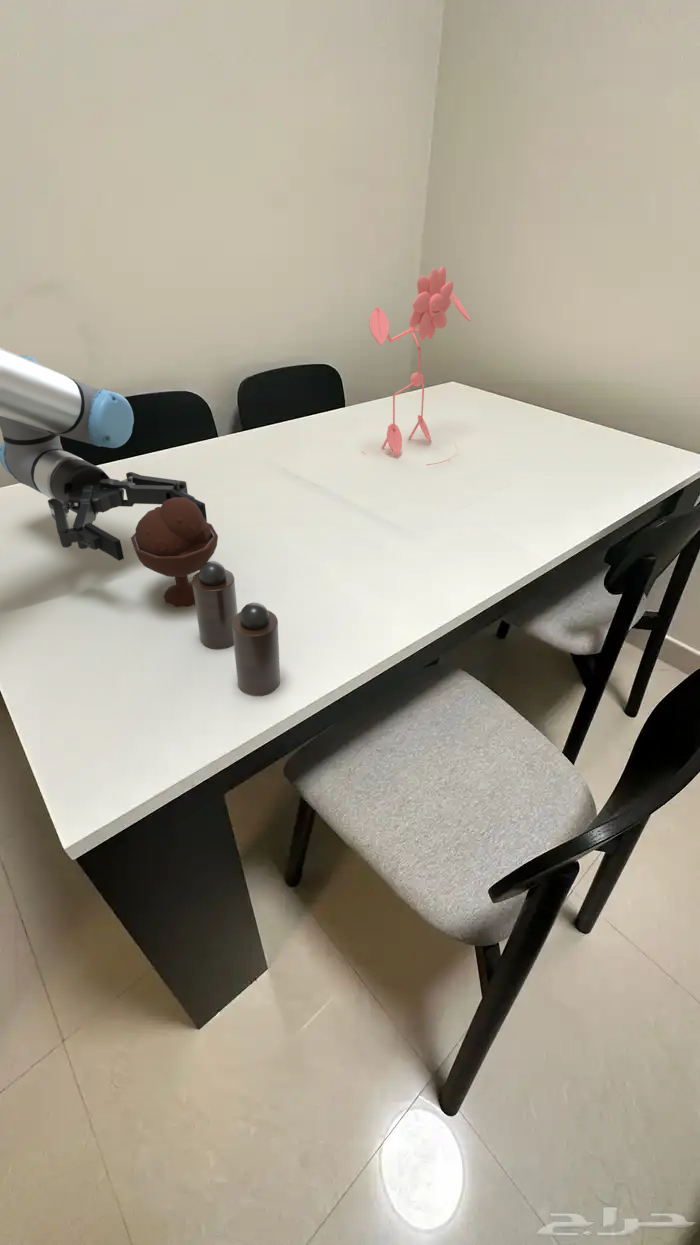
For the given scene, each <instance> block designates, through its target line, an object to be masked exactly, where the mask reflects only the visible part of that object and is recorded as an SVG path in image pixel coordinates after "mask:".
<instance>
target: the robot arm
mask: <svg viewBox="0 0 700 1245" xmlns="http://www.w3.org/2000/svg"><path fill="white" fill-rule="evenodd" d="M134 423H135V418H134V411H133V408H132V405H131V404H130V403H129V401H128V400H127V398H126V397H124V396H123V395H122V394H120V393H117V392H114V391H111V390H109V389H107V388H98V387H95V386H92V385H91V386H90V385H88V384H85V383H83V382H81V381H79V380H76V379H74V378H71V377H68V376H67V375H65V374H63V373H61V372H58V371H56V370H54V369H52V368H50V367H46V366H45V365H43V364H40V362H38V360H37V359H35V358H34V357H32V356H29V355H24V354H17V353H15V352H13V351H11V350H8V349H6V348H4V347H1V346H0V431H1V435H2V439H3V441H2V443H1V445H0V464H1V467H2V468H3V469H4V470H5V471H6V472H7V473H8V474H9V475H10V476H12V477H13V478H14V479H15V480H17V482H19V483H20V484H22V485H25V486H27V487H29V488H31V489H33V490H35V491H37V492H38V493H40V494H42V495H44V496H46V497H47V498H48V500H47V504H48V507H49V511H50V514H51V517H52V519H54V520H55V526H56V531H57V535H58V538H59V541H60V544H61V547H62V548H70V547H71V546H72V545H73V544H74V543H77V546H78V549H80V550H86V549H88V548H89V549H91V550H95V551H97V550H98V549H99V550H100V551H102V552H104V553H105V554H107V555H109V557H112V558H113V559H115V560H117V561H118V562H120V561H122V560H124V559H125V556H124V551H123V546H122V542H121V539H119V538H118V537H116V536H114V535H112V534H111V533H109V532H107V531H105V530H103V529H102V528H100V527H98V526H97V525H95V524H94V522H96V519H97V515H98V514H99V513H102V514H103V513H105V512H107V511H109V510H111V509H115V508H118V507H128V508H129V507H130V508H131V507H133V506H134V505H162V504H163V503H164V502H165V501H166V500H168V499H172V498H174V497H186V498H188V499H189V500H191V501H192V502H194V503H196V504H197V506H198V507H199V509H200V511H201V512H202V515H203V517H204V518H205V520H206V521H207V522H208V518H207V509H206V503H205V502H202V501H200V500H199V499H196V498H195V496H193V495H191V494H189V493H188V484H187V481H185V480H179V479H171V478H163V477H156V476H151V475H150V476H148V475H142V474H139V473H136V472H132V471H128V472H126V473H125V476H126V478H125V479H123V480H119V479H116V478H115V479H114V478H110V476H109V475H108V474H107V473H106V472H105V471H104V469H102V468H101V467H99V466H97V465H95V464H92V463H91V462H89V461H87V460H84V459H83V458H81V457H79V456H77V455H75V454H73V453H71V452H68V451H67V450H64V449H63V448H62V445H61V442H60V438H59V437H63V438H67V439H70V440H75V441H78V442H82V443H86V444H89V445H93V446H96V447H99V448H100V447H103V448H110V449H116V448H120V447H122V446H123V445H125V444H126V443H127V442H128V441H129V439H130V438H131V435H132V433H133V428H134ZM125 495H126V499H125ZM70 511H71V512H73V513H75V514H76V515H75V519H74V522H73V525H72V527H71V528H69V521H68V517H69V515H68V514H69V513H70Z"/></svg>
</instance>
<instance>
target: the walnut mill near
mask: <svg viewBox="0 0 700 1245" xmlns="http://www.w3.org/2000/svg"><path fill="white" fill-rule="evenodd" d="M278 621H279V620H278V617H277V616H276V614H275V613H273V612H272V611H270V610H268V608H267V607H266V606H265V605H264V604H262V603H259V602H250V603H248V604H245V605H244V606H243V607H242V609H241V610H240V611H239V612H238V614H237V615H236V616H235V617H234V618H233V620H232V631H233V641H234V644H233V649H234V650H233V651H234V658H235V659H234V660H235V669H236V680H237V686H238V688H239V689H240V690H241V691H242V692H243V693H244V694H246V695H248V696H249V695H250V696H254V697H260V696H266V695H269V694H271V693H272V692H274V691H276V690H277V688H278V687H279V685H280V684H281V668H280V643H279V642H280V641H279V639H280V638H279V622H278Z"/></svg>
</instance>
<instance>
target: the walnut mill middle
mask: <svg viewBox="0 0 700 1245" xmlns="http://www.w3.org/2000/svg"><path fill="white" fill-rule="evenodd" d="M191 582H192V586H193V592H194V599H195V604H194V606H195V613H196V618H197V625H198V633H199V638H200V642H201V643H202V645H203V646H205V647H206V648H209V649H214V650H222V649H226V648H227V649H228V648H230V647H232V646H234V641H233V631H232V620H233V618H234V617H235V616H236V615H237V614H238V613H239V612H238V604H237V603H238V602H237V592H236V582H235V575H234V574H233V573H232V572H231V571H230V570H228V569H226V568H225V567H224V565H222V564H221V563H220V562H218V561H213V560H212V561H211V560H210V561H208V562H207V563H205V564H204V565H203V566H202V567H201V568H200V570H198V571H197V572H196V574H194V575H193V577H192V579H191Z"/></svg>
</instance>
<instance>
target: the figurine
mask: <svg viewBox="0 0 700 1245" xmlns="http://www.w3.org/2000/svg"><path fill="white" fill-rule="evenodd" d="M416 286H417V292H418V295H417V296H416V298H415V299H414V301H413V303H412V309H413V310H412V312H411V314H410V318H409V322H408V323H409V324H408V325H409V327H410V328H409V329H406V330H405V331H403V332H401V333H399V334H397V335H396V336H394V337H391V335H390V327H391V326H390V321H389V318H388V316H387V314H386V312H385V311H383V310H382V309H381V308H380V307H379V306H375V307H374V310H373V311H371V314H370V317H369V321H368V322H369V325H368V326H369V329H370V333H371V335H372V337H373V338H374V339H375V341H376V342H377V343H378V344H379V345H380V346H383V345H384V343H385V342H386V339H388V340H387V341H389V343H392V342H395V341H396V340H398V339H400V338H402V337H404V336H406V335H407V334H409V333H411V334H412V337H413V339H414V341H415V345H416V347H417V371H416V372H414V373H412V374H411V376H410V378H409V379H410V380H409V381H410V383H409V384H408V385H406V386H405V387H403V388H401V389H400V390H398V391H396V392H395V393H393V395H392V422H391V423H390V424H389V425H388V426H387V431H386V438H385V440H384V442H383V444H382V445H381V449H382V450H384V449H385V447H386V446H387V444H388V447H389V448H390V450H391V451H392V453H393V455H394V456H395V457H396V458H398V457H399V455H400V453H401V450H402V447H403V437H402V433H401V430H400V428H399V426H398V425H397V424H396V415H395V414H396V396H397V395H399V394H400V393H402V392H403V391H405V390H406V389H408V388H410V387H411V386H414V387H420V386H422V387H421V388H422V390H421V407H420V408H421V411H420V414H421V415H420V414H418V415H417V423H416V424H415V426H414V428H413V429H412V431H411V433H410V435H409V436H408V438H407V439H408V440H412V438H413V436H414V434H415V433H416V431H417V429H418V427H420V429H421V432H422V433H423V435H424V437H425V438H426V439H427V441H428V442H429V443H432V437H431V434H430V431H429V428H428V425H427V424H426V421H425V419H424V418H423V416H424V400H425V399H424V398H425V385H424V379H425V378H424V375H423V374H422V373H421V354H422V353H421V352H422V348H421V345H420V342H419V340H420V341H423V340H424V339H425V338H426V337H427V338H428V339H429V340H431V339H433V337H434V335H435V332H436V329H440V330H441V329H443V328H444V327H445V326H446V325H447V322H448V321H447V315H446V314H445V313H446V312H447V311H448V309H449V308H450V306H451V304H452V303H453V304H454V306H455V307H456V309H457V310H458V312H459V313H460V314H461V315H462V317H463V318H464V319H465V320H467V321H468V322H471V321H472V320H471V317H470V315H469V314H468V312H467V310H466V308H465V307H464V305H463V302H462V301H461V299H459V298H458V296H457V295H456V294H455V293H454V292H453V290H454V282H453V280H449V281H448V282H447V269H446V267H445V266H441V267H440V269H438V268H432V270H431V271H430V277H428V276H426V275H421V276H420V277H419V278H417V283H416ZM417 326H418V328H416V327H417ZM415 332H417V333H418V338H417V335H416V333H415ZM418 339H419V340H418ZM454 445H455V448H456V449H457V445H456V444H454ZM360 452H361V453H362V454H364V455H366V453H364V452H363V451H362V450H361V451H360ZM455 456H456V454H454V455H453V456H452V457H450V458H448V459H446V460H443V461H440V462H435V463H426V466H431V465H436V464H441V463H445V462H450V461H452V458H454V457H455Z"/></svg>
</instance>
